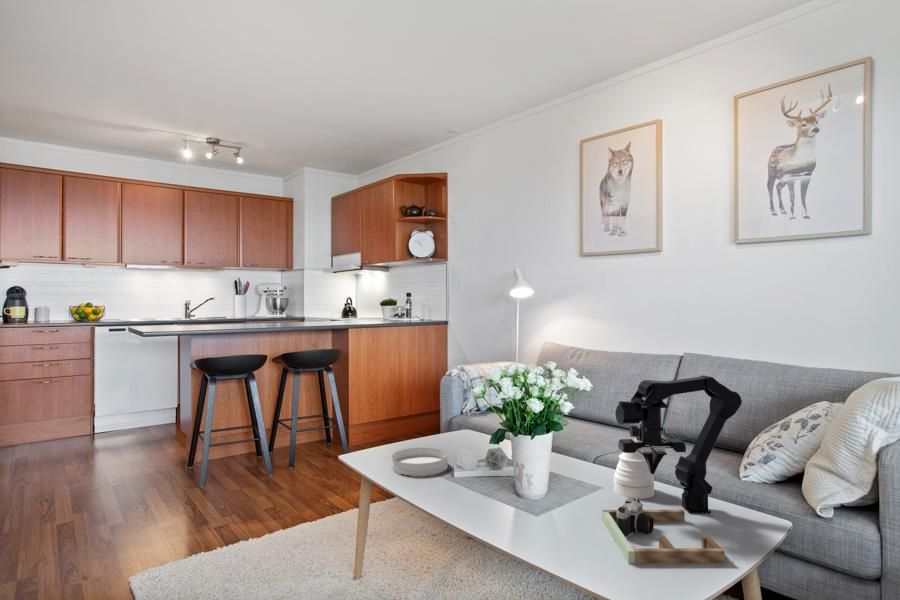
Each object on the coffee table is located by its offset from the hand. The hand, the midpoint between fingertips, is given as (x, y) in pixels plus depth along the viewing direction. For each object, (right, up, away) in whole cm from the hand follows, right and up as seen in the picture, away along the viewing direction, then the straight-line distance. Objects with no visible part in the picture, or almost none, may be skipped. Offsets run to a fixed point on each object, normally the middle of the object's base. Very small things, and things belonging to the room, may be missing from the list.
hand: (652, 473), depth 165 cm
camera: (-9, -13, -13) cm, 20 cm away
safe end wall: (-16, -12, -18) cm, 27 cm away
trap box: (-5, -12, -18) cm, 22 cm away
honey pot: (+1, -12, +18) cm, 22 cm away
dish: (-73, -14, +49) cm, 89 cm away
